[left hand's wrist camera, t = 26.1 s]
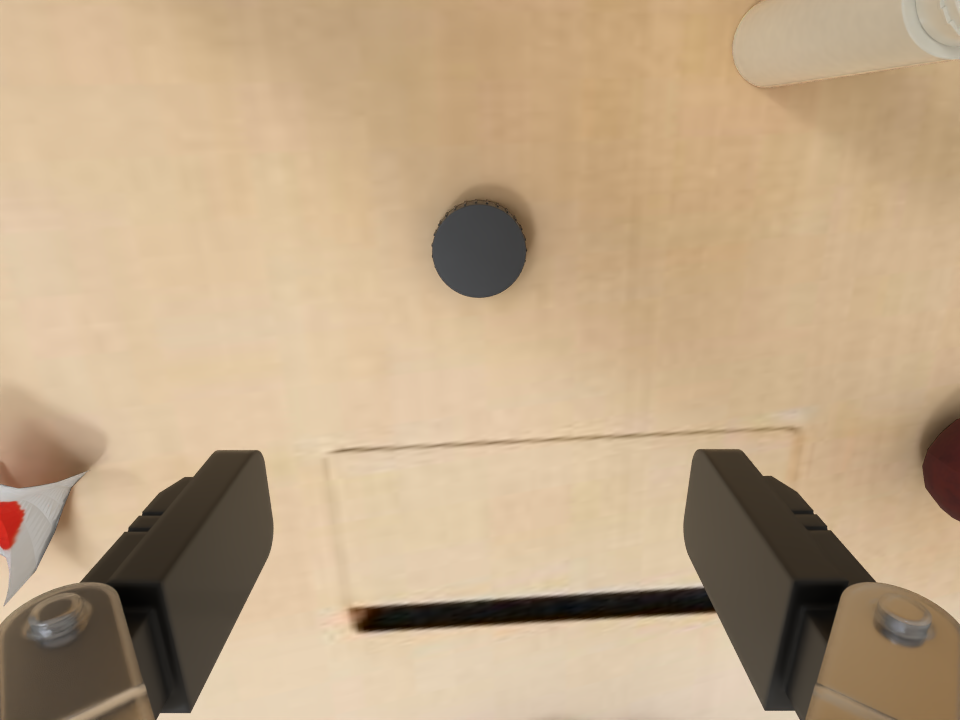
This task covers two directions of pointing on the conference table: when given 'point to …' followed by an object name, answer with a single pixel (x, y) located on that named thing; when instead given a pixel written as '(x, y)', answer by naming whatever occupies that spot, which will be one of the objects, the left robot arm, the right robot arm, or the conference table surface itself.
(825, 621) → the left robot arm
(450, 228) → the lid
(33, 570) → the fish
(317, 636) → the conference table surface
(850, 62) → the jar
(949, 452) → the dark red ball
